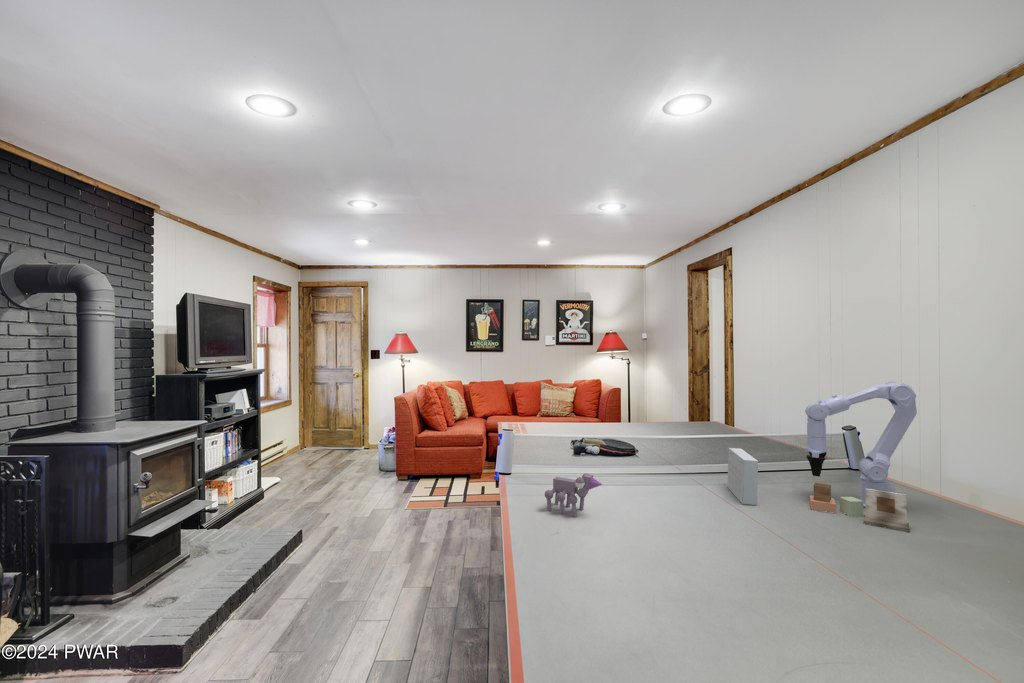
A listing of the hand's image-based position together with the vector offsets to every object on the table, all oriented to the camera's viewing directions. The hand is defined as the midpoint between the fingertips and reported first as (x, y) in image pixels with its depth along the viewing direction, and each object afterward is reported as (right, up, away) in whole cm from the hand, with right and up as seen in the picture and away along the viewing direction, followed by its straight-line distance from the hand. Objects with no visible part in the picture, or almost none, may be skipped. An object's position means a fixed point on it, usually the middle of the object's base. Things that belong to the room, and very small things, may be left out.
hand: (816, 473), depth 168 cm
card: (+5, -9, -24) cm, 27 cm away
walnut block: (-4, -6, -9) cm, 12 cm away
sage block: (+2, -9, -15) cm, 18 cm away
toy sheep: (-90, -10, -12) cm, 91 cm away
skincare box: (-25, -10, +5) cm, 27 cm away
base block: (-4, -10, -10) cm, 14 cm away
